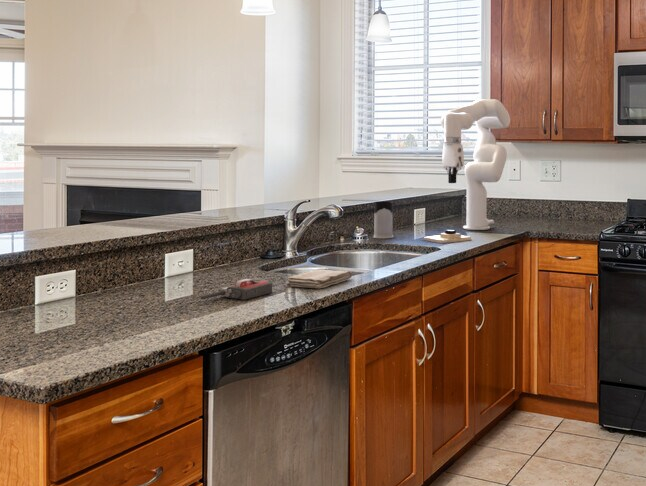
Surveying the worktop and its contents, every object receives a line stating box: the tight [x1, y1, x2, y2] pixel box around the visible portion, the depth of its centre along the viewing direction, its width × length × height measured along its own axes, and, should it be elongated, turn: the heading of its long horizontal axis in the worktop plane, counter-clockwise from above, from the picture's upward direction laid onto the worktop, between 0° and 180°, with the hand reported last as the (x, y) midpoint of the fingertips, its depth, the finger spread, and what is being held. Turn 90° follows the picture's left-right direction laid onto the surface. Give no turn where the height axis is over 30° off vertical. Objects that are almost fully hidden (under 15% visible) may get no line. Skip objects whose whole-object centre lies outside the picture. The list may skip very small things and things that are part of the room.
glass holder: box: [372, 201, 394, 239], centre depth 323 cm, size 9×14×15 cm, turn 10°
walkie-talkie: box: [200, 278, 273, 301], centre depth 198 cm, size 9×4×20 cm
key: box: [444, 229, 457, 234], centre depth 310 cm, size 3×3×2 cm
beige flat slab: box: [423, 232, 472, 244], centre depth 311 cm, size 16×12×3 cm
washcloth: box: [286, 269, 353, 290], centre depth 218 cm, size 12×18×3 cm, turn 157°
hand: (452, 182), depth 326 cm, fingers closed
